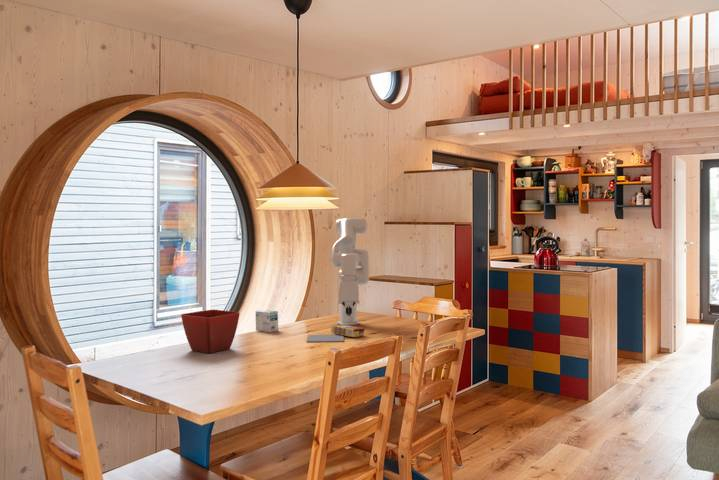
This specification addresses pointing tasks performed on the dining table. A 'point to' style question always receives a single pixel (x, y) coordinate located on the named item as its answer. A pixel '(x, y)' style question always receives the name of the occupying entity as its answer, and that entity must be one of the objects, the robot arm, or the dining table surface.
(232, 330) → the plant pot
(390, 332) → the dining table surface
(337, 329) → the candy box
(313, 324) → the dining table surface
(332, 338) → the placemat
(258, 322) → the light bulb box
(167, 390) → the dining table surface
